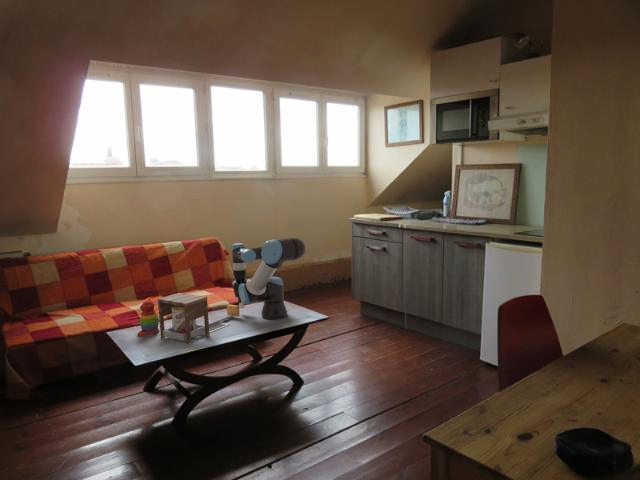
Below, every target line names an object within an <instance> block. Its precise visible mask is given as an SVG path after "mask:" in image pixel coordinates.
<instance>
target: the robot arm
mask: <svg viewBox="0 0 640 480" xmlns="http://www.w3.org/2000/svg"><path fill="white" fill-rule="evenodd" d="M306 250H307V247H306V244H305V242H304V241H303V239H300V238H298V237H287V238H279V239H270V240H266V241H265V242H264V243H263V244H262V246H256V247H249V248H246V245H245V243H242V242H238V243H232V245H231V256H232V269H233V271H232V273H233V274H232V275H233V277H234V279H233V282H231V283H230V284H231V286H232V289H233V293H234V297H235V298H237V303H238V306H239V309H244V308H245V305H247V304H248V305H250V304H253V303H254V304H255V303H257V302H263V305H262V309H261V318H263V319H264V320H280V319H283V318H286V317H287V316H288V310H287V307H286V305H285V299H284V281H283V278H281V277H279V276H274V274H275V272H276V270H277V269H281V268H282V267H283V266H284V264H285V263H286V262H291V261H292V262H293V261H297V260H300V259H301V258H303V257H304V255H305V254H306ZM260 260H261V263H260V264H259V266H258V268H257V269H256V271H255V272H254V274H253V275H252V276H251V277H249V278H247V277H246V275H247V269H246V268H247V265H246V264H247V263H253V262H255V261H260Z"/></svg>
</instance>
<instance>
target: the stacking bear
mask: <svg viewBox="0 0 640 480" xmlns="http://www.w3.org/2000/svg"><path fill="white" fill-rule="evenodd" d="M155 305H156V304H155V302H154V301H152V300H151V299H148V300H145V301H143V302H142V303H141V305H139V309H140V311H141V314H140V319H139V324H140V325H139V326H140V328H141V330H140V331H138V333H137V335H138V336H137V337H147V335H150V336H154V335H157V334H158V333H160V328H159V325H160V321H159V314H158V313H157V312H156V311H155Z"/></svg>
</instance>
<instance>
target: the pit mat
mask: <svg viewBox="0 0 640 480" xmlns="http://www.w3.org/2000/svg"><path fill="white" fill-rule="evenodd" d="M210 321H211V320H210V319H209V322H210ZM197 324H198V325H202V324H205V323H204V322H202V323H197ZM230 325H231V324H230V323H226V322H222V321H221V322H218V323H215V324H213V325H210V326H209V334H211V333H214V332H217V331H219V330H221V329H223V328H225V327H229V326H230Z"/></svg>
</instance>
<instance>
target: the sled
mask: <svg viewBox="0 0 640 480" xmlns="http://www.w3.org/2000/svg"><path fill="white" fill-rule="evenodd" d="M240 316H241V315H240V308H239V305H235V304H231V303H230V304H226V315H224V316H221V317H218V318H216V319H213V320H210V322H209V326H210V325H213V324H215V323H218V322H221V323H222V322H224V321H226V320H228V319H231V318H234V317H240ZM198 324H199V323H196V329H195V330H193V331H190V333H191V338H192V337H194V338H195V337H197V336H199V335H201V334H205V324H202V325H198ZM164 329H165V330H163V336H164V337H163V338H169V339H174V340H178V341H187V340H186V333H185V334H181V333H177V332H173V326H171V327H169V328H168V327H167V328H164Z"/></svg>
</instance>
